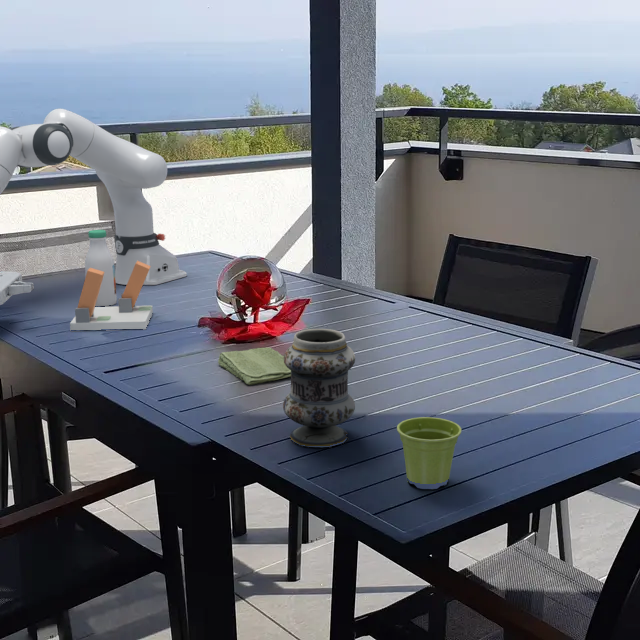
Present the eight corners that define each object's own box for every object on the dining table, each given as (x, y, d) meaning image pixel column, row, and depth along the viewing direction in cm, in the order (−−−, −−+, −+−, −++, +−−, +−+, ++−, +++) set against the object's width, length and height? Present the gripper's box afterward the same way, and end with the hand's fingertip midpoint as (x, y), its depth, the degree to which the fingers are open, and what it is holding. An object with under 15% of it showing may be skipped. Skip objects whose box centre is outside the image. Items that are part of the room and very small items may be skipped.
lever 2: (120, 301, 233) (137, 260, 230) (133, 306, 233) (150, 265, 231) (118, 305, 229) (135, 263, 226) (131, 310, 229) (149, 269, 227)
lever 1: (78, 311, 223) (90, 267, 221) (92, 316, 224) (104, 271, 221) (74, 316, 219) (87, 270, 217) (89, 320, 220) (102, 275, 217)
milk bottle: (113, 307, 242) (108, 233, 236) (84, 307, 242) (78, 233, 237) (120, 300, 249) (115, 228, 244) (92, 300, 249) (86, 228, 244)
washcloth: (247, 389, 178) (246, 374, 177) (214, 365, 193) (214, 351, 193) (306, 379, 184) (306, 363, 183) (270, 356, 199) (270, 342, 198)
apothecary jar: (359, 450, 148) (359, 343, 143) (285, 453, 147) (283, 346, 142) (350, 423, 159) (350, 324, 155) (282, 425, 158) (280, 326, 154)
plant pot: (396, 468, 141) (397, 415, 138) (457, 470, 140) (459, 417, 138) (395, 494, 132) (396, 439, 129) (461, 497, 131) (463, 440, 129)
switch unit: (82, 314, 234) (80, 294, 233) (152, 313, 235) (151, 292, 234) (70, 331, 219) (68, 309, 217) (145, 329, 220) (144, 307, 219)
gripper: (-42, 286, 207) (20, 284, 208) (-16, 267, 227) (40, 266, 228) (-39, 312, 209) (23, 311, 210) (-14, 292, 229) (42, 290, 230)
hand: (32, 287), depth 219 cm, fingers closed
